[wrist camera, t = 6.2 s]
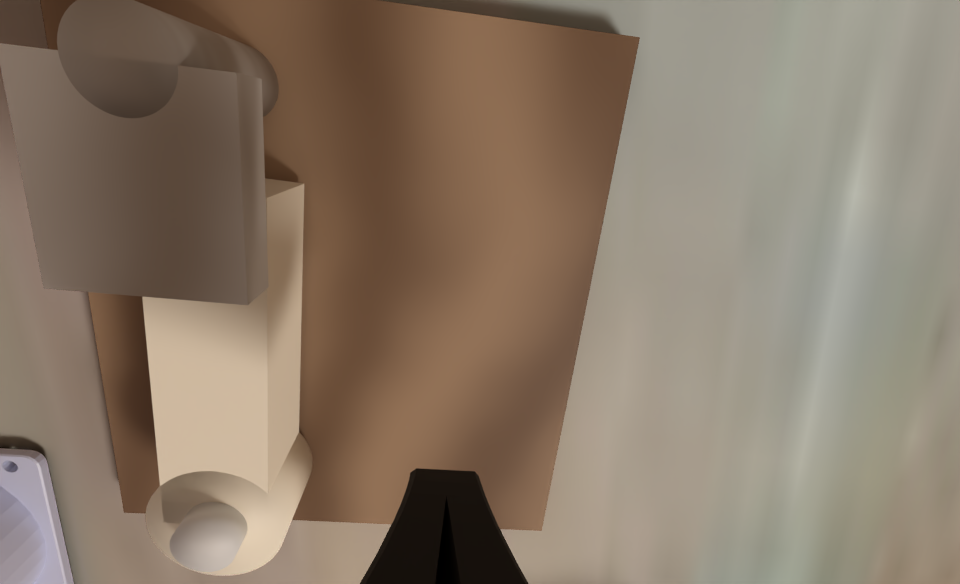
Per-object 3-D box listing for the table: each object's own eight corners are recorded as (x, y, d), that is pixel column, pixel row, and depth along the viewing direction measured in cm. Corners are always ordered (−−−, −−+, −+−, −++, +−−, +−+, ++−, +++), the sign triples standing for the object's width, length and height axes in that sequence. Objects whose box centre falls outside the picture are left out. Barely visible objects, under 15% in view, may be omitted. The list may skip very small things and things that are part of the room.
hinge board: (140, 493, 19) (-1, 659, 13) (62, -37, 13) (-259, -170, 7) (537, 511, 20) (572, 668, 14) (627, 43, 14) (748, -14, 9)
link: (311, 507, 18) (275, 602, 14) (199, 499, 17) (134, 596, 14) (321, 185, 14) (277, 206, 10) (179, 166, 14) (81, 181, 10)
